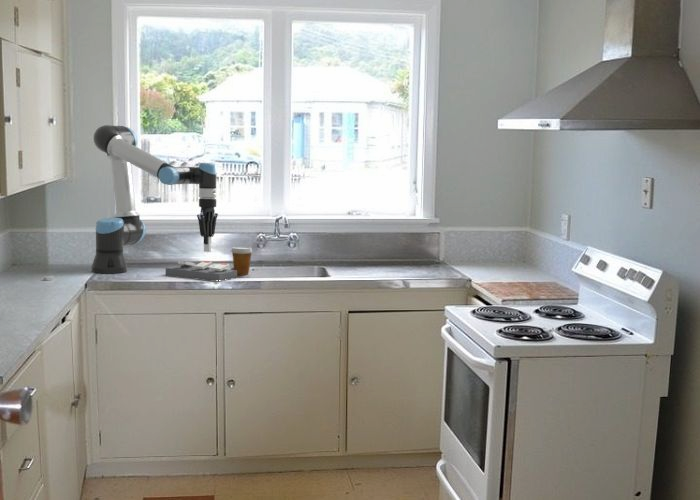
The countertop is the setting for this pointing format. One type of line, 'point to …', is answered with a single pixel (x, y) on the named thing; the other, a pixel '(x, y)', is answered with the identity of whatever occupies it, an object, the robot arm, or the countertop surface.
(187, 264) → the block
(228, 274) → the power strip
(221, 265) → the rocker right
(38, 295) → the countertop surface
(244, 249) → the disposable coffee cup
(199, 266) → the rocker middle
